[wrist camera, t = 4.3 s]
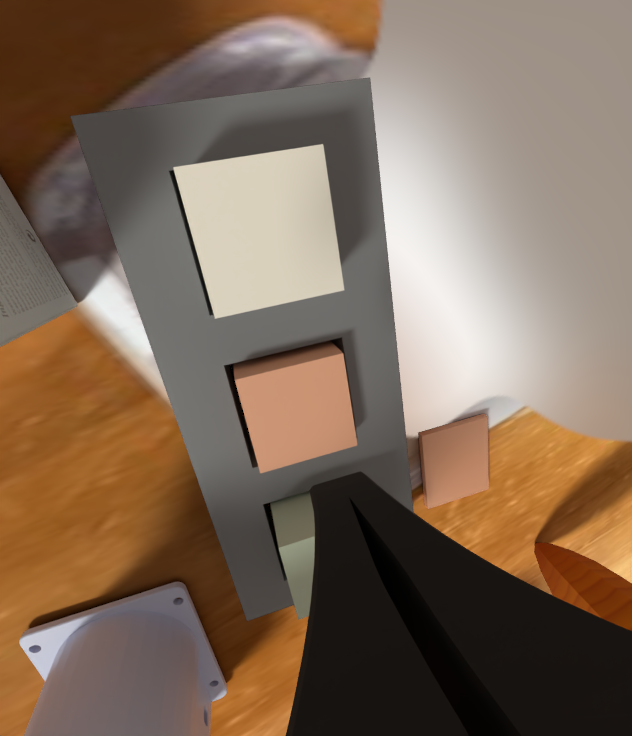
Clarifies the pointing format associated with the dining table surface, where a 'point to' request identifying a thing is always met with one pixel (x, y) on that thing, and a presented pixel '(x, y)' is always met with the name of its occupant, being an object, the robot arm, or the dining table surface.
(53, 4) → the dining table surface
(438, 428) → the tile
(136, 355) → the dining table surface
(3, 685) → the dining table surface
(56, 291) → the small box
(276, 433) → the key terracotta
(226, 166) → the key cream
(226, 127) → the keypad
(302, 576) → the key sage
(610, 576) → the carrot
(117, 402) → the dining table surface
